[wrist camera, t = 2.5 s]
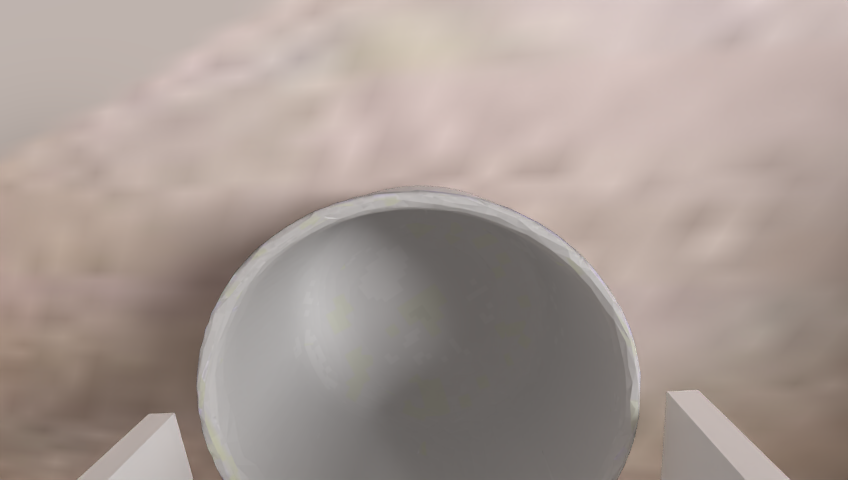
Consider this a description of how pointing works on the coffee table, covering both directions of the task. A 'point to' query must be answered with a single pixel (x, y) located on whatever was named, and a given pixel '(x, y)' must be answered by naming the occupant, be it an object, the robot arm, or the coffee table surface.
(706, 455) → the robot arm
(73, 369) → the coffee table surface
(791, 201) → the coffee table surface
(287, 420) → the teacup
